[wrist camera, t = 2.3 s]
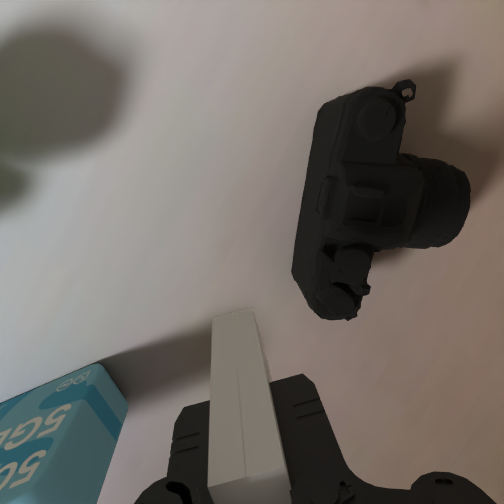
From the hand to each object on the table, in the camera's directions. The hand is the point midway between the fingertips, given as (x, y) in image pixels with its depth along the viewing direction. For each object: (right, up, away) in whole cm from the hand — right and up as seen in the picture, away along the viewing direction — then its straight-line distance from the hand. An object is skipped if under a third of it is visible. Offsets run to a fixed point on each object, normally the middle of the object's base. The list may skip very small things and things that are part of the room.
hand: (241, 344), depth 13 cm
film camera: (+9, +7, +14) cm, 18 cm away
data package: (-16, -10, +17) cm, 26 cm away
